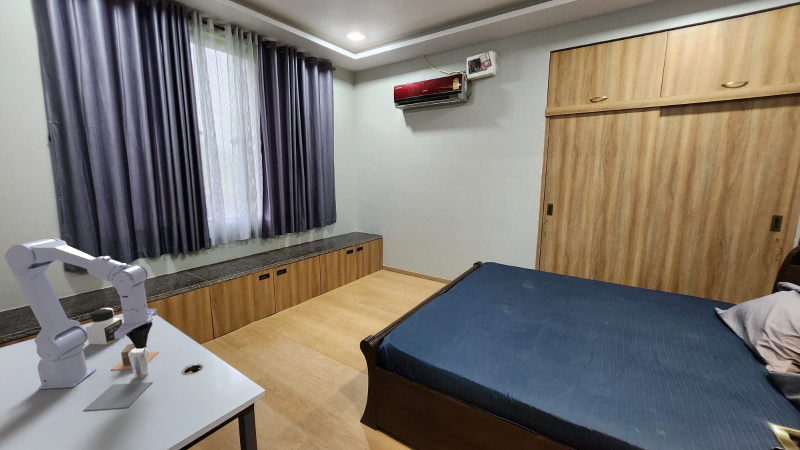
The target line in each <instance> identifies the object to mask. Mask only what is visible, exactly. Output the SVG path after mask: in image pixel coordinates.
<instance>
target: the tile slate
mask: <svg viewBox="0 0 800 450" xmlns="http://www.w3.org/2000/svg"><path fill="white" fill-rule="evenodd" d="M152 384H153V382H152V381H150V382H148V381H146V382H132V383H129V382H128V383H117V384H111V386H109V387H108V388H107V389H106V390H104V392H103V393H100V395H99V396H97V398H95V399H94V400H93V401H92V402H91V403H90V404H88V406H86V407H85V408H84V409H83V412H87V411H99V410H113V409H114V410H115V409H128V408H129V407H130V406H131V405H132V404H133V403H134V402H135V401H137V399H138V398H139V397H140V396H141V395H142V394H143V393H144V392H145V391H146V390H147V389H148V388H149V387H150V386H151V385H152Z"/></svg>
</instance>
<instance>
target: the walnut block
mask: <svg viewBox="0 0 800 450" xmlns="http://www.w3.org/2000/svg"><path fill="white" fill-rule="evenodd" d="M134 348H135V346H134V344H133V343H128V344H126V346H125V347H124V348H123V350H122V351H121V352H120V354H121V361H123V366H128V365H131V362H130V360H129V357H128V353H129V352H130V351H131V350H132V349H134ZM146 348H147V349H148V347H147V345H146ZM148 352H149V351H147V355H148Z"/></svg>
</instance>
